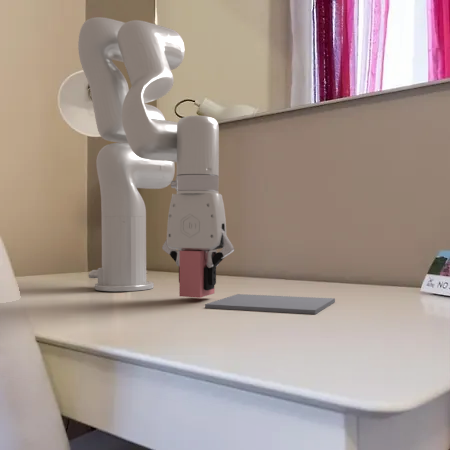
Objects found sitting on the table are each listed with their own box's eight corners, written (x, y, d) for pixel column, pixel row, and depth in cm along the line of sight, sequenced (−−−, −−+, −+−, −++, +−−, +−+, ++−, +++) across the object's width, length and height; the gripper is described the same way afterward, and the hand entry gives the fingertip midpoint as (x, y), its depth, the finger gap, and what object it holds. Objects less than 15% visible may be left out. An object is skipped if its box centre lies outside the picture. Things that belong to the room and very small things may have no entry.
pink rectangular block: (179, 296, 93) (179, 250, 93) (194, 292, 98) (195, 249, 98) (199, 297, 91) (200, 251, 91) (214, 293, 97) (214, 249, 97)
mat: (205, 307, 85) (205, 304, 85) (237, 297, 98) (237, 294, 98) (315, 314, 78) (315, 310, 78) (335, 301, 91) (334, 298, 91)
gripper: (146, 186, 94) (146, 288, 95) (232, 184, 88) (232, 294, 88) (167, 188, 101) (166, 284, 101) (248, 186, 95) (248, 288, 95)
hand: (197, 287), depth 95 cm, fingers closed on pink rectangular block, 4 cm apart
